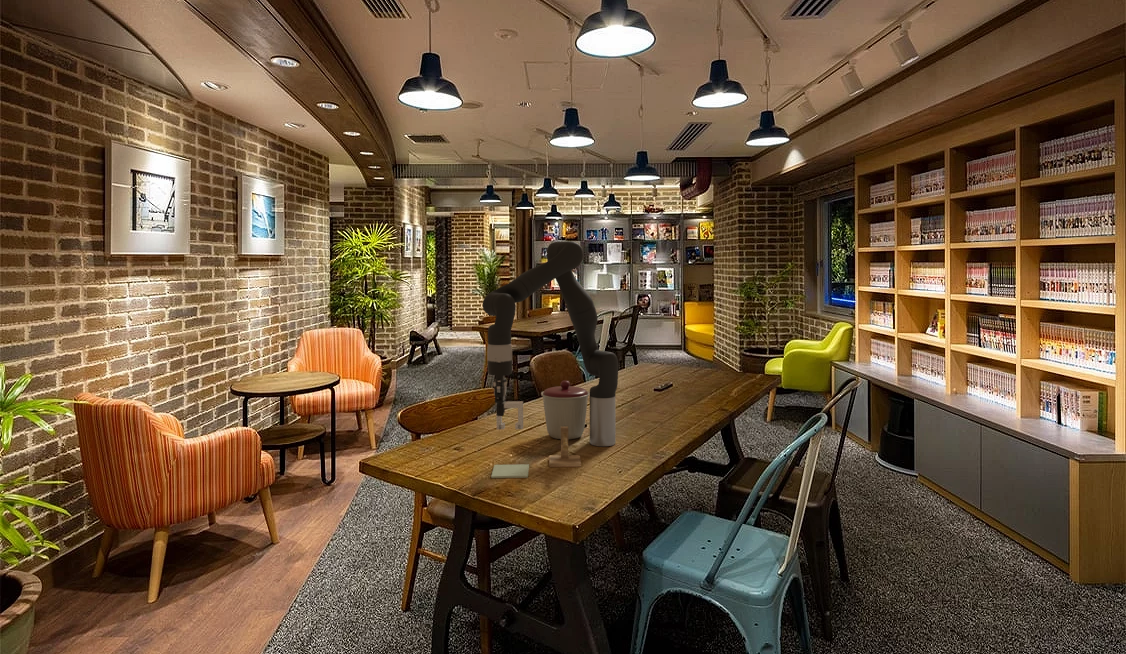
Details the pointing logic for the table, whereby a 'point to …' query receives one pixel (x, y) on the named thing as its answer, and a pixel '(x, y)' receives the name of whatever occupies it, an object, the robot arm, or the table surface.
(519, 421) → the pinkish grey arch
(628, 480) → the table surface
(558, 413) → the canister
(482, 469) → the table surface
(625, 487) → the table surface
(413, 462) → the table surface
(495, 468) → the mat
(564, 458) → the stand
